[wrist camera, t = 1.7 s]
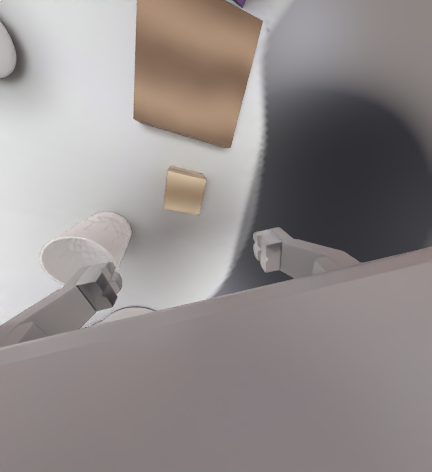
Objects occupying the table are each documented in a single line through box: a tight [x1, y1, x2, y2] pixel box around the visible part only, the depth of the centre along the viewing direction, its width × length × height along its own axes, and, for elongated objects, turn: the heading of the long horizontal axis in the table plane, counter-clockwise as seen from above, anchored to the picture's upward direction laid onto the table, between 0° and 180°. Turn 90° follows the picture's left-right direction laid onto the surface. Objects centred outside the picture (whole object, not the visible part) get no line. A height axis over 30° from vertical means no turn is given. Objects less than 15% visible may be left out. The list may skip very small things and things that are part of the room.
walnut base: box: [133, 0, 263, 148], centre depth 20 cm, size 12×12×4 cm
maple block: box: [163, 166, 207, 215], centre depth 25 cm, size 5×5×6 cm
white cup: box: [39, 211, 132, 285], centre depth 24 cm, size 8×8×10 cm
